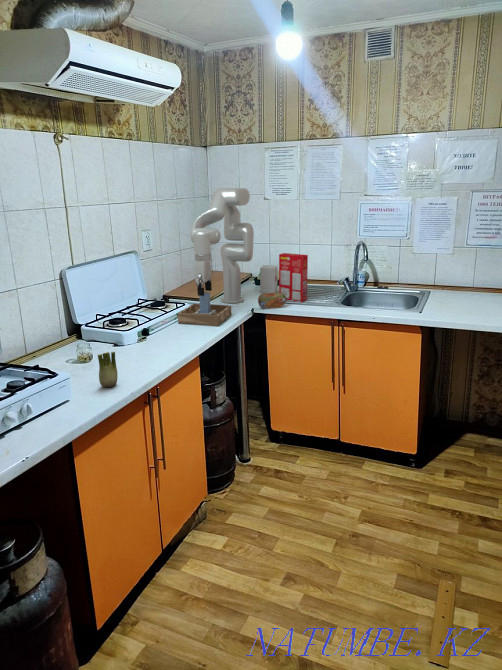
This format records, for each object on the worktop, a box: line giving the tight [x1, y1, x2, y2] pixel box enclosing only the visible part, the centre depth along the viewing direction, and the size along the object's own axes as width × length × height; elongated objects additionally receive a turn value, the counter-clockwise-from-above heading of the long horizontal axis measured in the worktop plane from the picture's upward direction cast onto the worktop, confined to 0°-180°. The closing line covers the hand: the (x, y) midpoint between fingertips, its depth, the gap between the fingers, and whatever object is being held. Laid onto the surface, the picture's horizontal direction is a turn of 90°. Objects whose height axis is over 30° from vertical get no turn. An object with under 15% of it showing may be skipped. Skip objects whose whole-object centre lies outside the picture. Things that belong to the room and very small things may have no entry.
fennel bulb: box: [97, 351, 118, 388], centre depth 172 cm, size 6×5×12 cm
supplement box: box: [259, 264, 278, 294], centre depth 305 cm, size 9×9×15 cm
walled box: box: [177, 303, 232, 327], centre depth 251 cm, size 20×20×5 cm
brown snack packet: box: [257, 291, 287, 310], centre depth 270 cm, size 15×3×8 cm, turn 105°
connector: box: [199, 291, 211, 313], centre depth 249 cm, size 4×4×12 cm
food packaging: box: [278, 252, 309, 303], centre depth 284 cm, size 15×5×25 cm, turn 56°
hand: (204, 293), depth 248 cm, fingers open, 9 cm apart
